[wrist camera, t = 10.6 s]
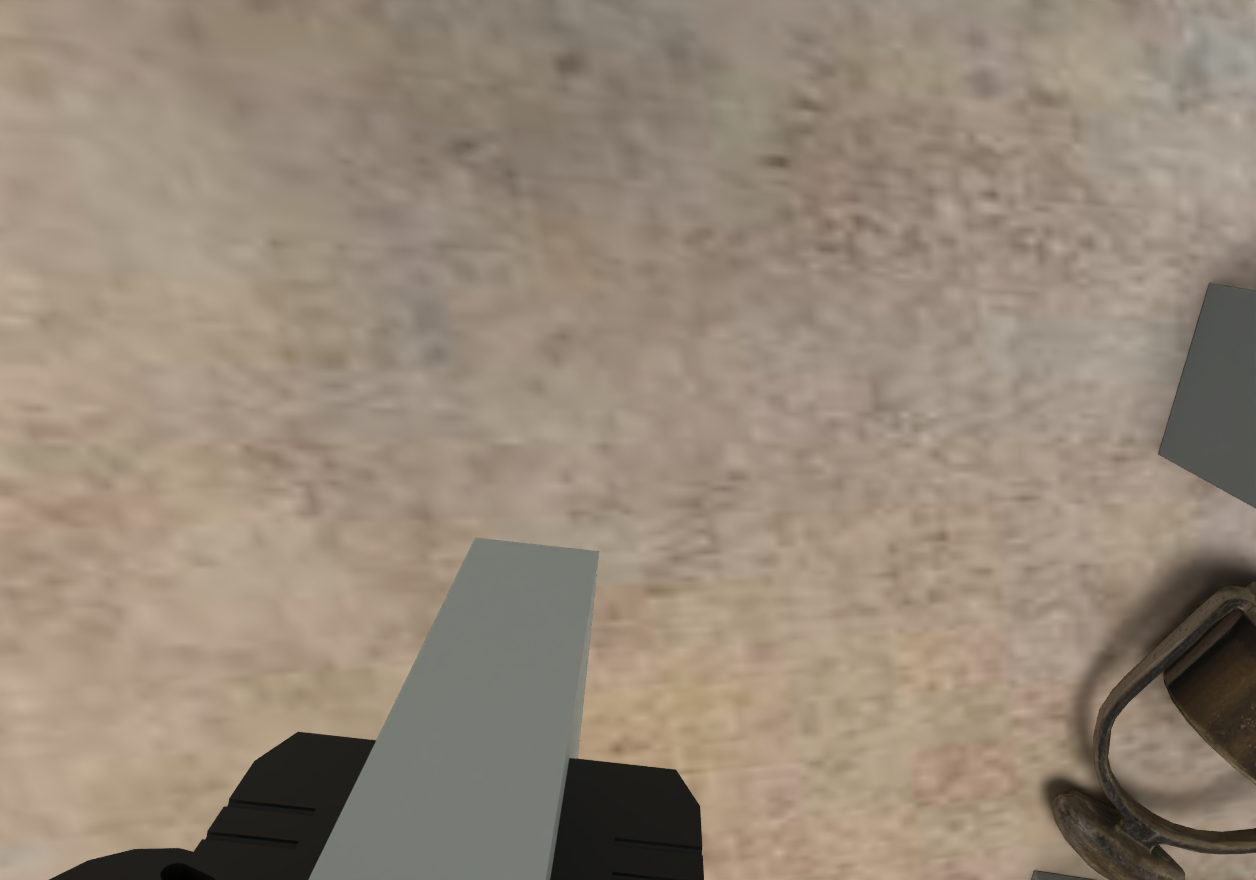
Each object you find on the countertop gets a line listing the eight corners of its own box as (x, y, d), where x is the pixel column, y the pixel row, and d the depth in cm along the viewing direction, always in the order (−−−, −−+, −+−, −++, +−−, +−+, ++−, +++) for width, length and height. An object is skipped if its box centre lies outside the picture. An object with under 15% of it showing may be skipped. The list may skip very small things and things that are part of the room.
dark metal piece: (1145, 494, 37) (1475, 576, 34) (1048, 728, 44) (1311, 812, 41) (1143, 632, 31) (1536, 743, 28) (1033, 872, 39) (1334, 980, 36)
